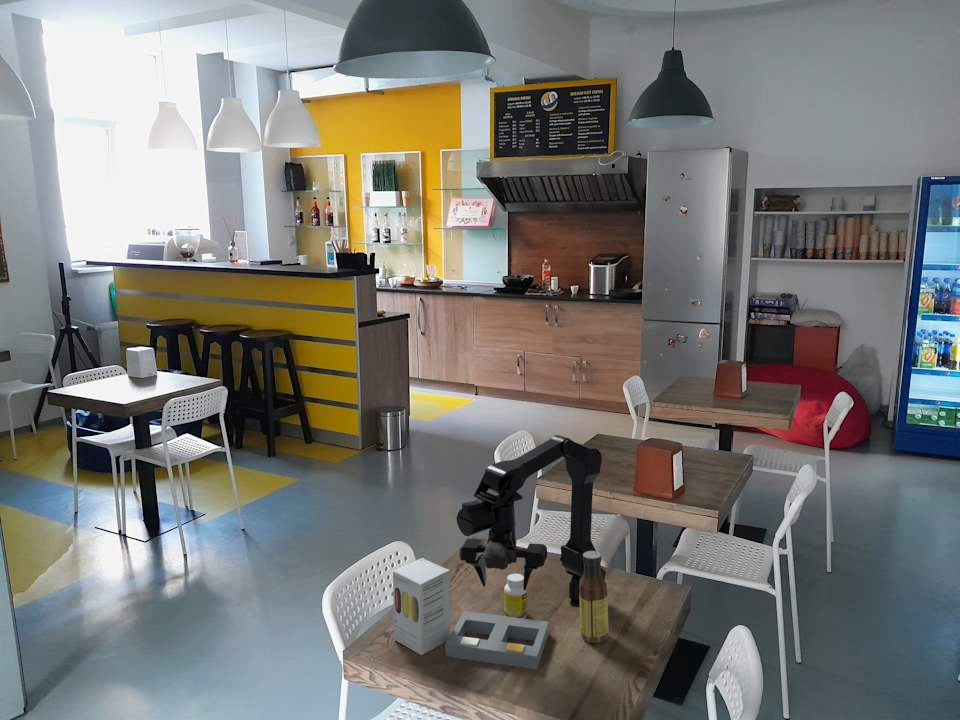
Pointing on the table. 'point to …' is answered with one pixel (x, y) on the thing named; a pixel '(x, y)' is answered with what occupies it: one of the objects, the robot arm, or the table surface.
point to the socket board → (498, 640)
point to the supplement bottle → (515, 597)
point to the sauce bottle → (593, 600)
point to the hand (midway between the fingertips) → (504, 587)
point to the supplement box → (421, 605)
